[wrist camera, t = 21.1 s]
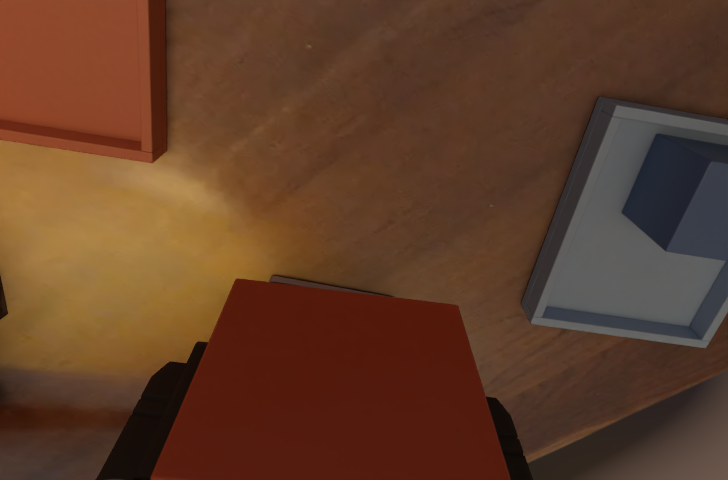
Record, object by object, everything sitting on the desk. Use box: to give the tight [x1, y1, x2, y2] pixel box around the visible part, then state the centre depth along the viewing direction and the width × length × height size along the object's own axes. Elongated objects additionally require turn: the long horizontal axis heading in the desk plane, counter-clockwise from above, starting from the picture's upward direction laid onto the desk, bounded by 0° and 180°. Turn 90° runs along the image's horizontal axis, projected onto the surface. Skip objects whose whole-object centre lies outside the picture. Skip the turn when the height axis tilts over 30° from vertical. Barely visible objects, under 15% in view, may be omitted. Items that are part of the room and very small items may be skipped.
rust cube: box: [150, 279, 511, 480], centre depth 10 cm, size 5×5×5 cm
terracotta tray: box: [0, 0, 167, 163], centre depth 25 cm, size 14×12×2 cm
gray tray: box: [521, 97, 728, 348], centre depth 30 cm, size 14×12×2 cm
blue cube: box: [622, 134, 728, 261], centre depth 27 cm, size 5×5×5 cm
